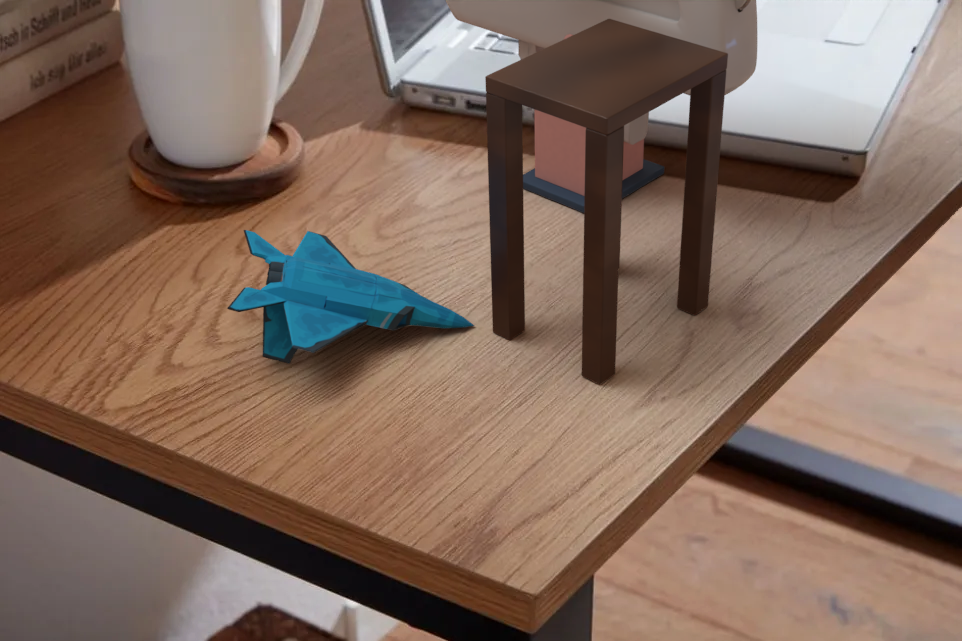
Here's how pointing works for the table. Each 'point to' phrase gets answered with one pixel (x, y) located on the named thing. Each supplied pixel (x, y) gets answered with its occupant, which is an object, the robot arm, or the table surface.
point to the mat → (577, 200)
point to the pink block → (571, 152)
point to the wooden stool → (603, 164)
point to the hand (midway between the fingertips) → (589, 124)
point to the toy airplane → (328, 299)
